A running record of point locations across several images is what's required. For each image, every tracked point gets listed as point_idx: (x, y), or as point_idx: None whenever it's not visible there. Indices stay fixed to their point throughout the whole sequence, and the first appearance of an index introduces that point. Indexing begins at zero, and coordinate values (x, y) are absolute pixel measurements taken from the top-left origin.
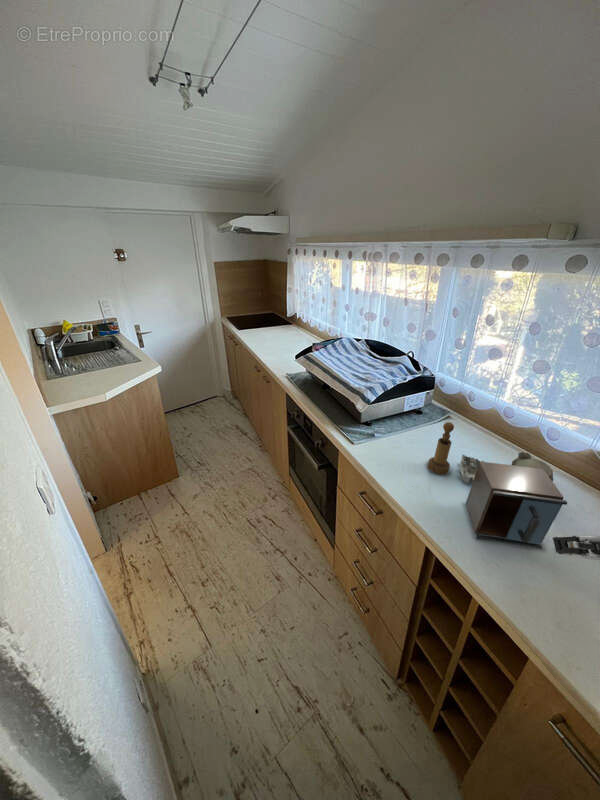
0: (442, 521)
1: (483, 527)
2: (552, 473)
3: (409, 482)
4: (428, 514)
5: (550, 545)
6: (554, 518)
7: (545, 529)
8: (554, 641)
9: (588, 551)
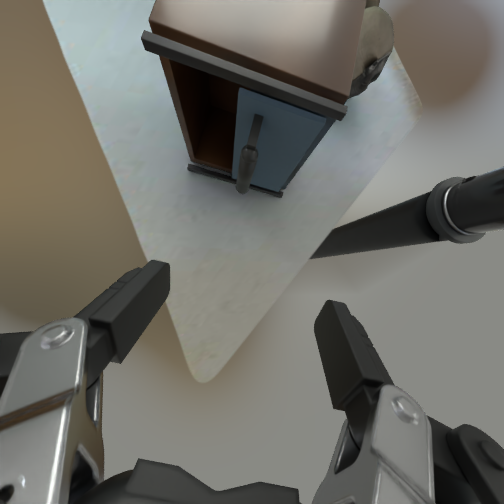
0: (144, 132)
1: (207, 153)
2: (387, 54)
3: (122, 38)
4: (124, 114)
5: (297, 193)
6: (309, 154)
7: (287, 172)
8: (204, 325)
9: (85, 471)
